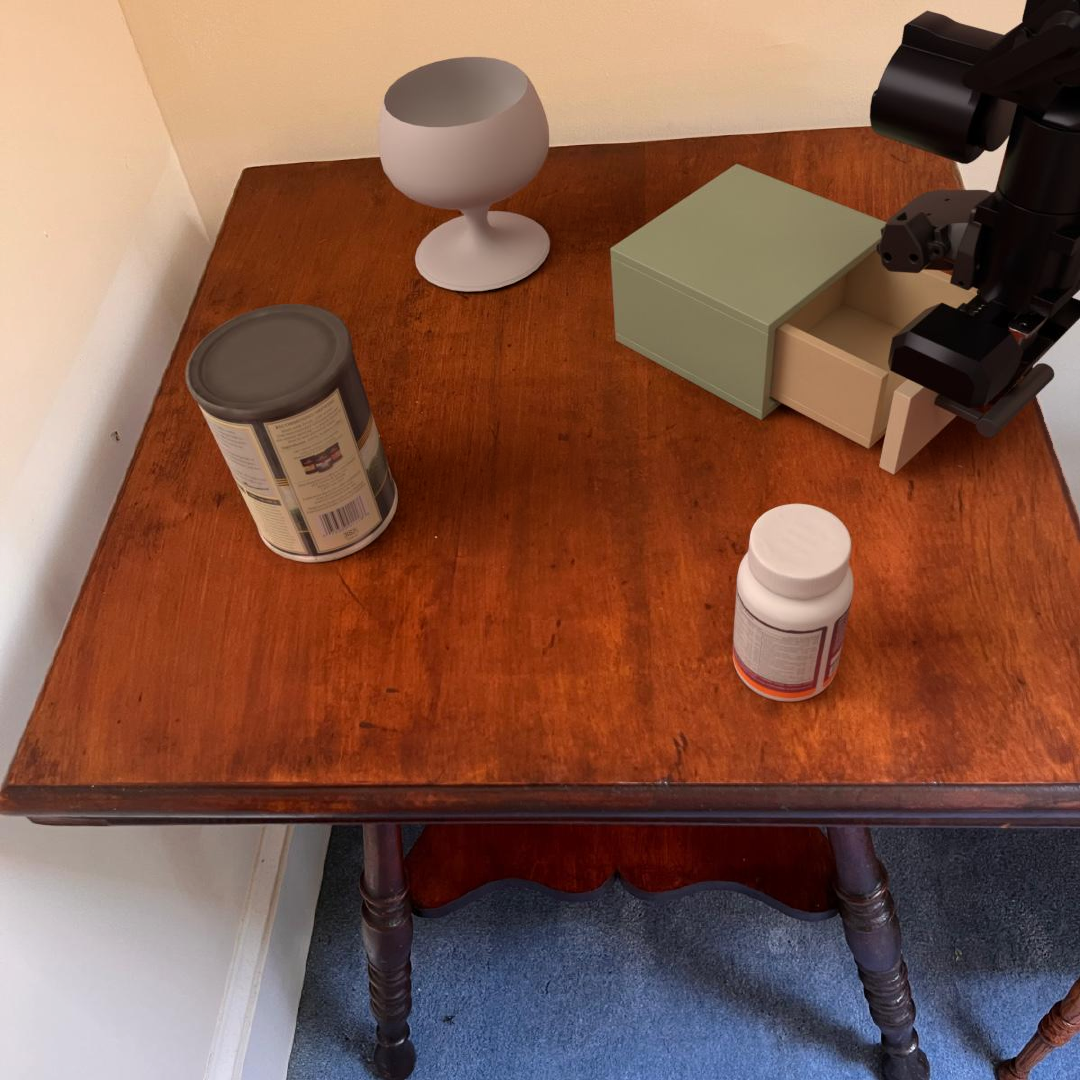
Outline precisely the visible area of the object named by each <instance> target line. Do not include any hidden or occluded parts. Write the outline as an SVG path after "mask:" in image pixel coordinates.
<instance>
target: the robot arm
mask: <svg viewBox="0 0 1080 1080" xmlns="http://www.w3.org/2000/svg"><path fill="white" fill-rule="evenodd" d="M869 121H870V126H871V129H872V131H873V133H875V135H877V136H880V137H883V138H886V139H889V140H892V141H895V142H898V143H900V144H904V145H906V146H909V147H913V148H915V149H918V150H920V151H924V152H927V153H929V154H933V155H936V156H939V157H941V158H944V159H947V160H950V161H952V162H956V163H959V164H961V165H969V164H971V163H973V162H974V161H976V160H978V158H980V156H982V154H983V153H984V152H985V151H986V152H989V153H993V152H995V151H996V150H997V151H998V149H999V148H1000V147H1002V146H1003V145H1004V143H1005V142H1006V141H1007V143H1006V146H1005V150H1004V154H1003V159H1002V161H1001V162H1002V163H1001V165H1000V169H999V170H1000V171H999V173H998V177H997V181H996V186H995V190H994V191H989V190H987V189H936V190H935V189H934V190H929V191H926V192H923V193H921V194H919V195H917V196H916V197H915V198H913V199H912V200H911V201H909V202H908V203H906V204H905V205H904V206H903V207H902V208H900V209H899V210H897V212H895V213H894V214H892V215H891V216H890V217H889V218H888V219H887V223H886V224H885V226H884V227H883V228H882V229H881V241H880V243H879V244H877V247H876V250H877V252H878V254H879V255H880V256H881V262H882V265H883V266H884V267H885V268H886V269H887V270H888V271H891V272H905V273H919V272H921V271H922V270H923V269H924V270H939V271H942V272H946V271H952V272H951V275H952V276H951V281H950V284H953V285H955V286H958V287H960V288H962V289H965V290H970V289H971V288H972V287H974V288H976V289H978V290H977V295H976V296H975V297H974V298H973V299H972V300H970V301H969V302H968V303H967V304H966V303H962V304H961V305H960V306H959V307H957V308H954V307H951V306H949V305H947V304H944V303H940V304H937V305H935V306H932V307H930V308H927V309H925V310H924V311H923V312H922V313H920V314H919V315H918V316H917V317H916V318H915V319H913V320H912V321H911V322H910V323H909V324H908V325H906V326H905V327H904V328H903V329H902V330H901V331H899V332H898V333H897V334H896V335H895V336H894V337H892V342H891V347H890V353H889V358H888V365H889V368H890V371H892V372H894V373H896V374H898V375H900V376H902V377H904V378H907V379H909V380H911V381H913V382H915V383H917V384H919V385H921V386H923V387H925V388H927V389H930V390H932V391H934V392H936V393H938V394H940V395H942V396H944V397H946V398H948V399H950V400H953V401H955V402H957V403H959V404H961V405H963V406H965V407H967V408H972V409H980V408H985V406H987V405H989V406H990V407H993V406H994V405H995V404H996V403H997V402H998V401H999V400H1000V399H1001V398H1002V397H1003V396H1004V395H1005V394H1006V393H1007V392H1008V391H1010V390H1011V389H1012V388H1013V387H1014V386H1015V385H1016V384H1017V383H1018V382H1019V381H1020V380H1021V379H1022V378H1023V377H1024V375H1025V374H1026V373H1027V372H1028V371H1029V370H1030V369H1031V368H1032V367H1034V366H1035V365H1036V364H1037V363H1038V362H1039V361H1040V360H1041V359H1042V358H1043V357H1044V355H1046V354H1047V353H1048V352H1049V351H1050V350H1051V349H1052V347H1053V346H1055V344H1056V343H1058V341H1060V339H1061V338H1062V337H1063V336H1064V335H1066V333H1067V332H1068V331H1069V330H1070V329H1072V327H1073V326H1074V325H1075V324H1076V323H1077V322H1078V321H1079V320H1080V299H1078V298H1075V295H1077V294H1078V292H1079V291H1080V0H1025V5H1024V9H1023V14H1022V19H1021V22H1020V23H1019V24H1017V25H1016V26H1014V27H1013V28H1012V29H1010V30H1008V32H1006V33H1004V34H1003V33H999V32H995V31H991V30H988V29H984V28H980V27H977V26H972V25H969V24H965V23H961V22H959V21H956V20H954V19H953V18H951V17H949V16H948V15H945V14H943V13H938V12H934V11H931V10H925V11H924V12H922V13H921V14H919V15H918V16H916V17H915V18H913V19H911V20H910V21H908V22H907V23H905V24H904V26H903V31H902V37H901V44H899V45H898V47H897V49H896V50H895V51H894V52H893V54H892V55H891V58H890V59H889V61H888V63H887V65H886V67H885V69H884V71H883V73H882V75H881V78H880V80H879V83H878V86H877V89H875V90H874V92H873V93H872V96H871V100H870V105H869Z"/></svg>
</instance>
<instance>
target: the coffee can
mask: <svg viewBox="0 0 1080 1080" xmlns="http://www.w3.org/2000/svg"><path fill="white" fill-rule="evenodd" d="M184 376H185V378H184V379H185V383H186V387H187V389H188V390H189V393H190V394H191V396H192V398H193V399H194V401H195V402H196V404H197V405H198V406H199V408H200V410H201V413H202V415H203V417H204V418H205V419H204V420H205V421H206V423H207V425H208V427H209V430H210V431H211V433H212V435H213V438H214V439H215V442H216V444H217V445H218V448H219V450H220V452H221V454H222V456H223V458H224V460H225V463H226V464H227V467H228V469H229V470H230V472H231V475H232V477H233V479H234V481H235V483H236V485H237V488H238V489H239V491H240V494H241V495H242V498H243V500H244V502H245V504H246V506H247V508H248V510H249V512H250V514H251V517H252V519H253V521H254V523H255V525H256V528H257V531H258V534H259V536H260V538H261V540H262V541H263V543H264V544H265V546H266V547H267V548H269V550H270V551H272V552H273V553H275V554H276V555H278V556H281V558H283V559H287V560H291V561H294V562H301V563H324V562H330V561H337V560H338V559H339V560H340V559H341V558H344V557H347V556H350V555H352V554H354V553H356V552H358V551H360V550H362V549H364V548H365V547H367V546H368V545H370V544H371V543H373V542H374V541H375V540H376V539H377V538H378V537H380V535H381V534H382V533H384V531H385V530H387V528H388V526H389V524H390V523H391V522H392V520H393V518H394V516H395V514H396V511H397V508H398V501H399V493H398V488H397V484H396V482H395V479H394V478H393V476H392V473H391V472H392V471H391V469H390V466H389V463H388V459H387V456H386V453H385V450H384V446H383V444H382V440H381V438H380V435H379V431H378V429H377V425H376V421H375V418H374V415H373V411H372V409H371V405H370V402H369V399H368V395H367V392H366V389H365V385H364V382H363V379H362V375H361V372H360V369H359V367H358V364H357V360H356V357H355V353H354V345H353V340H352V336H351V334H350V330H349V327H348V326H347V324H346V323H345V322H344V320H342V318H340V317H339V316H338V315H337V314H336V313H335V314H334V313H333V312H331V311H329V310H327V309H326V308H325V309H324V308H322V307H320V306H315V305H310V304H303V303H284V304H276V305H275V304H274V305H269V306H264V307H260V308H256V309H253V310H250V311H248V312H244V313H242V314H239V315H237V316H235V317H233V318H231V319H229V320H227V321H225V322H224V323H222V324H220V325H218V327H216V328H215V329H213V330H212V331H210V332H209V333H208V334H207V335H206V336H205V337H204V338H202V340H200V342H199V343H198V344H197V345H196V347H194V349H193V351H192V352H191V354H190V356H189V358H188V361H187V362H186V367H185V372H184Z"/></svg>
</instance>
